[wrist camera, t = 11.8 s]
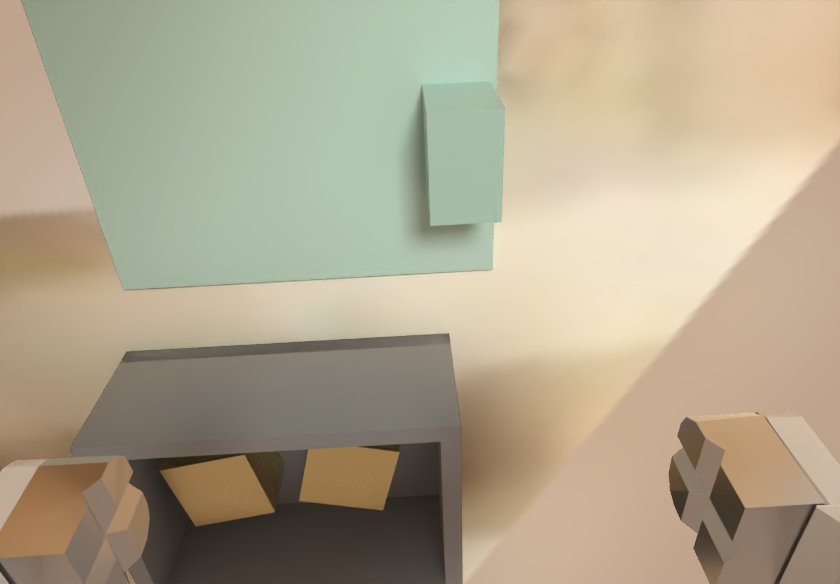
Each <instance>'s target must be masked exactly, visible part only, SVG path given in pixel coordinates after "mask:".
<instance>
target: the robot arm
mask: <svg viewBox="0 0 840 584" xmlns="http://www.w3.org/2000/svg"><path fill="white" fill-rule="evenodd" d="M678 438H679V439H680V442H681V444H682V446H683V448H682V449H681V450H679V451H678V452H677V453H676V454H675V455H674V456H672V460H671V464H670V470H669V482H670V492H671V495H672V499H673V503H674V506H675V508H676V510H677V513H678V515H679V517H680V520H681V521H682V522H684V523H685V524H686V525H687V526H689V527H690V528H691V529H693V530H694V531H695V532H697V533H698V535H697V538H696V541H695V545H694V550H695V553H696V555H697V557H698V559H699V561H700V563H701V566H702V568H703V570H704V572H705V574H706V576H707V578H708V581H709V583H710V584H840V465H839V464H838V463H837V461H836V460H835V459H834V458H833V456H832V455H831V454H830V452H829V451H828V450H827V448H826V447H825V446H824V445H823V443H822V442H821V441H820V439H819V438H818V437H817V436H816V434H815V433H814V432H813V430H812V429H811V428H810V427H809V425H808V424H807V423H806V422H805V420H804V419H803V418H802V416H801V415H800V414H798V413H796V412H795V411H793V410H778V411H764V412H755V413H752V412H747V413H735V414H722V415H708V416H696V417H686V418H685V419H684V421H683V422H682V423H681V425H680V429H679V432H678ZM132 473H133V470H132V468H131V466H130V465H129V463H128V461H127V459H126V457H125V456H117V455H114V456H90V457H65V458H49V459H30V460H14V461H13V462H11V463H10V464H8V465H7V466H5V467H4V468H3V469H2V470H1V472H0V584H129V581H128V579H127V576H126V573H125V571H126V570H127V569H129V568H130V567H131V566H132V565H133V564H134V563H135V562H136V561H137V560H138V559H139V558H140V557H141V555H142V553H143V550H144V547H145V544H146V541H147V538H148V528H149V519H150V516H149V510H148V504H147V501H146V499H145V496H144V494H143V492H142V491H140V490H139V489H137V488H136V487H134V486H132V485H131V484H129V481H130V478H131V476H132Z"/></svg>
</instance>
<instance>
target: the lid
mask: <svg viewBox="0 0 840 584" xmlns="http://www.w3.org/2000/svg"><path fill="white" fill-rule="evenodd" d="M21 1H22V4H23V7H24V10H25V13H26V16H27V19H28V21H29V24H30V27H31V30H32V33H33V36H34V38H35V41H36V44H37V47H38V50H39V53H40V55H41V58H42V61H43V64H44V67H45V70H46V72H47V75H48V78H49V81H50V84H51V86H52V89H53V92H54V95H55V98H56V101H57V103H58V106H59V109H60V112H61V115H62V117H63V121H64V123H65V126H66V129H67V132H68V135H69V137H70V140H71V143H72V146H73V149H74V152H75V155H76V157H77V160H78V163H79V166H80V169H81V171H82V174H83V177H84V180H85V183H86V186H87V188H88V191H89V194H90V197H91V200H92V202H93V205H94V208H95V211H96V214H97V217H98V220H99V222H100V225H101V228H102V231H103V234H104V237H105V239H106V242H107V245H108V248H109V251H110V254H111V256H112V259H113V262H114V265H115V268H116V271H117V273H118V276H119V279H120V282H121V285H122V288H123V290H132V289H150V288H168V287H186V286H204V285H222V284H240V283H258V282H276V281H294V280H312V279H330V278H348V277H366V276H384V275H402V274H420V273H438V272H456V271H474V270H492V269H493V231H494V222H501V220H502V189H503V157H504V125H505V107H504V105H503V104H502V102H501V100H500V98H499V96H498V94H497V66H498V24H499V0H21Z"/></svg>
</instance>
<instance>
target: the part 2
mask: <svg viewBox="0 0 840 584" xmlns="http://www.w3.org/2000/svg"><path fill="white" fill-rule="evenodd" d="M399 453H400V444H393V445H376V446H359V447H341V448H324V449H307V453H306V460H305V466H304V473H303V479H302V485H301V492H300V498H299V501H305V502H313V503H322V504H331V505H340V506H348V507H357V508H366V509H374V510H383V509H384V505H385V502H386V498H387V495H388V491H389V488H390V484H391V481H392V477H393V474H394V471H395V467H396V464H397V460H398V457H399Z"/></svg>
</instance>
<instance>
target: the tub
mask: <svg viewBox="0 0 840 584" xmlns="http://www.w3.org/2000/svg"><path fill="white" fill-rule="evenodd" d="M393 444H400V453H399V457H398V460H397V464H396V467H395V471H394V474H393V477H392V481H391V484H390V488H389V491H388V495H387V498H386V502H385V505H384V509H383V510H374V509H366V508H357V507H348V506H340V505H331V504H322V503H313V502H305V501H299V498H300V492H301V485H302V479H303V473H304V466H305V460H306V453H307V449H324V448H341V447H359V446H376V445H393ZM70 450H71V452H72V454H73V456H74V457H90V456H114V455H117V456H125V457H126V459H127V461H128V463H129V465H130V466H131V468H132V470H133V473H132V476H131V478H130V481H129V484H131V485H132V486H134V487H136V488H137V489H139V490H140V491H142V492H143V494H144V496H145V499H146V501H147V504H148V510H149V516H150V519H149V528H148V538H147V541H146V544H145V547H144V550H143V553H142V555H141V557H140V558H139V559H138V560H137V561H136V562H135V563H134V564H133V565H132V566H131V567H130V568H129V571H130V573H131V575H132V577H133V579H134V581H135V583H136V584H463V583H462V486H461V423H460V415H459V407H458V400H457V392H456V384H455V376H454V369H453V361H452V353H451V345H450V338H449V334H433V335H415V336H397V337H380V338H362V339H344V340H327V341H309V342H291V343H274V344H256V345H238V346H221V347H203V348H185V349H168V350H150V351H132V352H126V354H125V355H124V357H123V359H122V361H121V362H120V364H119V366H118V367H117V369H116V371H115V372H114V374H113V376H112V377H111V379H110V381H109V383H108V384H107V386H106V388H105V389H104V391H103V393H102V394H101V396H100V398H99V400H98V401H97V403H96V405H95V406H94V408H93V410H92V411H91V413H90V415H89V417H88V418H87V420H86V422H85V423H84V425H83V427H82V428H81V430H80V432H79V433H78V435H77V437H76V439H75V440H74V442H73V444H72V445H71V447H70ZM273 451H279V453H280V455H281V457H282V459H283V462H284V470H283V475H282V480H281V485H280V490H279V496H278V501H277V506H276V511H275V512H274V513H269V514H263V515H257V516H252V517H246V518H241V519H235V520H229V521H224V522H218V523H213V524H207V525H202V526H195V525H194V523H193V522H192V520H191V519H190V517H189V516H188V514H187V513H186V511H185V509H184V508H183V506H182V505H181V503H180V502H179V500H178V499H177V497H176V496H175V494H174V493H173V491H172V490H171V488H170V487H169V485H168V483H167V482H166V480H165V479H164V477H163V476H162V474H161V473H160V471H159V470H160V468H161V465H162V463H163V461H164V458H169V457H186V456H204V455H221V454H238V453H255V452H273Z"/></svg>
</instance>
